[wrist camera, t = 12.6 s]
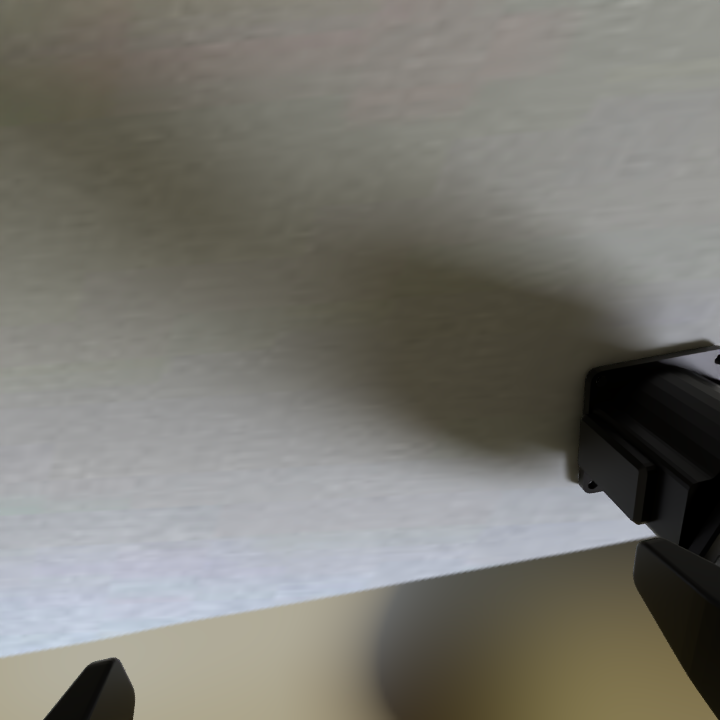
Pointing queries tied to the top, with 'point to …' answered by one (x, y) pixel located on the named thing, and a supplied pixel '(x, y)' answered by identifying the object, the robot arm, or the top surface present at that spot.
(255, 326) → the top surface
